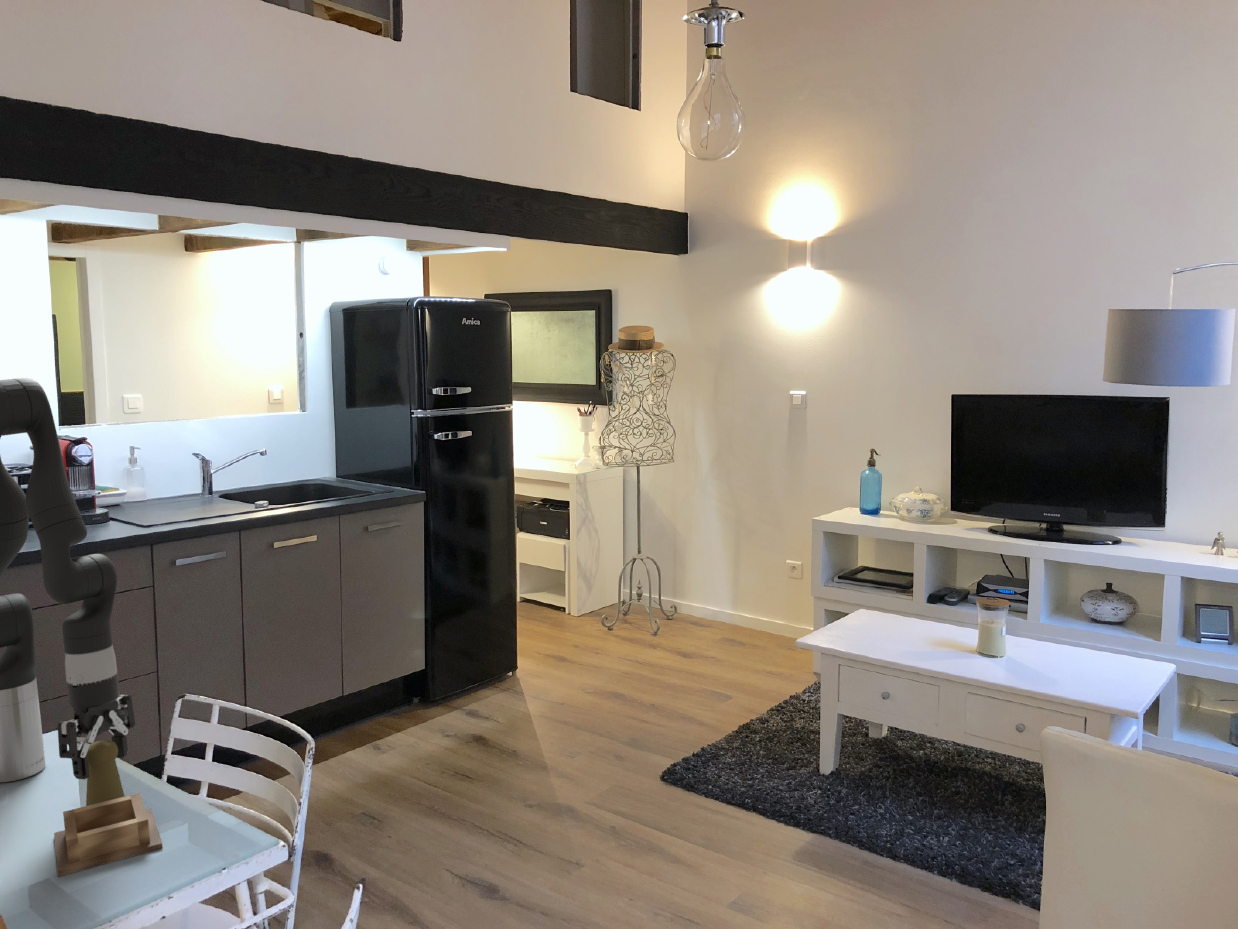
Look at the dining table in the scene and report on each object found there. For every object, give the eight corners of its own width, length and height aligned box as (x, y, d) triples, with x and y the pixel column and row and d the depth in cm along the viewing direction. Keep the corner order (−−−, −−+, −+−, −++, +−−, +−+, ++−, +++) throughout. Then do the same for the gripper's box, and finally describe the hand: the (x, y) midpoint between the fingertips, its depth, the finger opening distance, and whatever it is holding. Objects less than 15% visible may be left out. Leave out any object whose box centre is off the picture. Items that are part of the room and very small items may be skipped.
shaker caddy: (58, 877, 140) (54, 848, 140) (54, 837, 152) (51, 810, 152) (162, 848, 148) (159, 820, 147) (151, 812, 160) (149, 787, 159)
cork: (85, 816, 159) (78, 753, 158) (86, 802, 164) (79, 741, 163) (125, 807, 162) (119, 745, 160) (125, 793, 167) (119, 733, 166)
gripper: (104, 660, 168) (114, 749, 170) (38, 688, 154) (49, 784, 156) (141, 661, 166) (150, 751, 168) (77, 689, 152) (88, 787, 154)
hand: (101, 767), depth 162 cm, fingers open, 8 cm apart
